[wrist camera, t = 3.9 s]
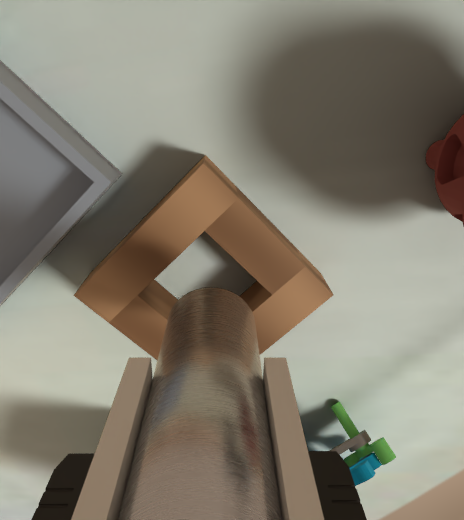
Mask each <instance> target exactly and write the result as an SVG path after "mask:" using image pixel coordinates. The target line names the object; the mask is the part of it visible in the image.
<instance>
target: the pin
mask: <svg viewBox="0 0 464 520" xmlns="http://www.w3.org/2000/svg"><path fill="white" fill-rule="evenodd" d="M118 520H282V514H281V507H280V500H279V493H278V485H277V478H276V471H275V464H274V456H273V449H272V442H271V435H270V428H269V420H268V413H267V406H266V399H265V392H264V384H263V376H262V369H261V362H260V355H259V348H258V341H257V333H256V326H255V320H254V316H253V313H252V311H251V309H250V307H249V306H248V304H247V303H246V302H245V301H244V300H243V299H242V298H241V297H239V296H238V295H236V294H235V293H233V292H230V291H228V290H225V289H220V288H201V289H197V290H194V291H192V292H189V293H187V294H186V295H184V296H183V297H181V298H180V299H179V300H178V301H177V302H176V303H175V304H174V306H173V307H172V309H171V311H170V313H169V316H168V320H167V324H166V328H165V332H164V336H163V340H162V344H161V348H160V352H159V356H158V360H157V364H156V368H155V373H154V377H153V381H152V385H151V389H150V393H149V397H148V401H147V405H146V409H145V413H144V417H143V421H142V425H141V429H140V433H139V437H138V441H137V445H136V449H135V453H134V457H133V461H132V465H131V469H130V473H129V477H128V481H127V485H126V489H125V494H124V498H123V502H122V506H121V510H120V514H119V518H118Z"/></svg>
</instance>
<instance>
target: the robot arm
mask: <svg viewBox="0 0 464 520" xmlns="http://www.w3.org/2000/svg"><path fill="white" fill-rule="evenodd" d="M152 381H153V379H152V366H151V358H129V359H128V362H127V365H126V368H125V370H124V373H123V376H122V379H121V382H120V384H119V387H118V390H117V393H116V396H115V398H114V401H113V404H112V407H111V410H110V412H109V415H108V418H107V421H106V424H105V426H104V429H103V432H102V435H101V437H100V440H99V443H98V446H97V449H96V451H95V454H68V455H67V456H66V457H65V458H64V459H63V461H62V462H61V463H60V464H59V465H58V466H57V467H56V468H55V469H54V471H53V473H52V476H51V478H50V480H49V482H48V484H47V487H46V491H45V492H44V493H43V496H42V498H41V500H40V502H39V506H38V508H37V509H36V511H35V513H34V515H33V518H32V520H118V518H119V514H120V510H121V506H122V502H123V498H124V494H125V489H126V485H127V481H128V477H129V473H130V469H131V465H132V461H133V457H134V453H135V449H136V445H137V441H138V437H139V433H140V429H141V425H142V421H143V417H144V413H145V409H146V405H147V401H148V397H149V393H150V389H151V385H152ZM263 384H264V392H265V399H266V406H267V413H268V420H269V428H270V435H271V442H272V449H273V456H274V464H275V471H276V478H277V485H278V493H279V500H280V507H281V514H282V520H367V519H366V516H365V513H364V510H363V507H362V504H360V498H359V495H358V493H357V490H356V489H355V484H354V481H353V478H352V475H351V472H350V469H349V466H348V465H347V464H346V463H345V461H344V460H343V459H342V458H341V456H340V455H339V454H338V453H337V451H308V449H307V445H306V441H305V437H304V432H303V428H302V424H301V420H300V415H299V411H298V407H297V403H296V399H295V394H294V390H293V386H292V382H291V378H290V373H289V369H288V365H287V361H286V358H264V373H263Z"/></svg>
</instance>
